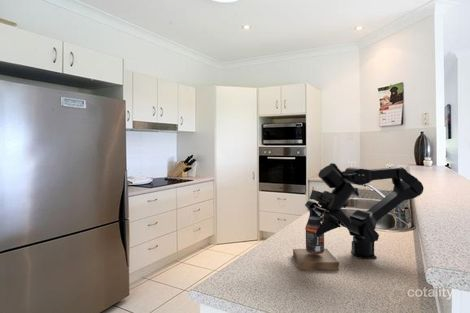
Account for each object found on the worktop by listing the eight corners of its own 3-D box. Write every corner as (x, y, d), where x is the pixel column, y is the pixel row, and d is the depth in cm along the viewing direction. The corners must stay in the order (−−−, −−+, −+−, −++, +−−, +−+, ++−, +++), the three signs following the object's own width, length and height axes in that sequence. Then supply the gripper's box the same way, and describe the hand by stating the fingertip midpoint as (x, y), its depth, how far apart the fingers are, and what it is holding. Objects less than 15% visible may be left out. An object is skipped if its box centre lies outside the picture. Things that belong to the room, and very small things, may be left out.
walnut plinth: (326, 255, 101) (326, 248, 101) (338, 270, 89) (338, 262, 89) (293, 255, 101) (293, 248, 101) (300, 270, 89) (300, 262, 89)
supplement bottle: (323, 255, 91) (322, 220, 90) (304, 253, 93) (304, 219, 93) (325, 249, 96) (324, 216, 96) (307, 247, 98) (306, 215, 98)
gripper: (309, 178, 104) (282, 211, 101) (342, 184, 86) (311, 224, 83) (327, 198, 107) (302, 230, 104) (363, 208, 89) (334, 247, 86)
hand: (311, 232), depth 94 cm, fingers closed on supplement bottle, 6 cm apart
